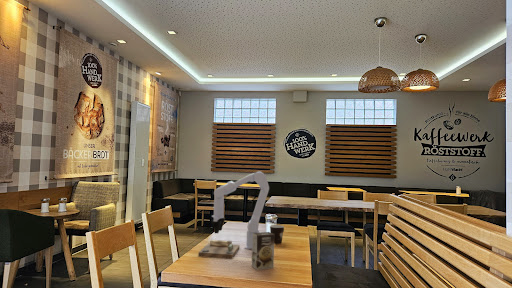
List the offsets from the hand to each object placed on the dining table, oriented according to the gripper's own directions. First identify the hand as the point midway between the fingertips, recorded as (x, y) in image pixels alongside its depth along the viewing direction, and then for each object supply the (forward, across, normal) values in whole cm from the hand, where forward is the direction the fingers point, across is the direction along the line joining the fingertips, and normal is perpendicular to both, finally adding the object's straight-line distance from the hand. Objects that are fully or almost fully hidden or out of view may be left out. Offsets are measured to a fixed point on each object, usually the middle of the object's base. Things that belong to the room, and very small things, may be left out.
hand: (218, 231), depth 203 cm
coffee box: (+9, +32, +30) cm, 44 cm away
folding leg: (+6, +6, +3) cm, 9 cm away
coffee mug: (+9, -18, +34) cm, 40 cm away
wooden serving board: (+8, +12, +4) cm, 15 cm away
